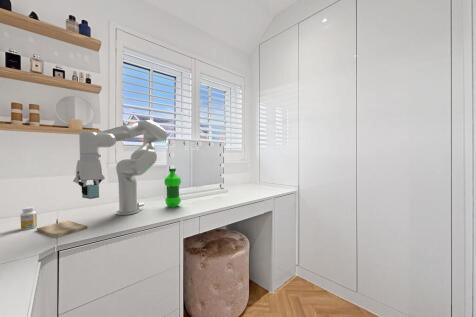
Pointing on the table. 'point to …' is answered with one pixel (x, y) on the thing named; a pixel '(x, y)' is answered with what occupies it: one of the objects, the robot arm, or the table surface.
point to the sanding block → (92, 192)
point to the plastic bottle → (172, 188)
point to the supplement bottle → (28, 218)
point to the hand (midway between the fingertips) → (90, 193)
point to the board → (61, 228)
